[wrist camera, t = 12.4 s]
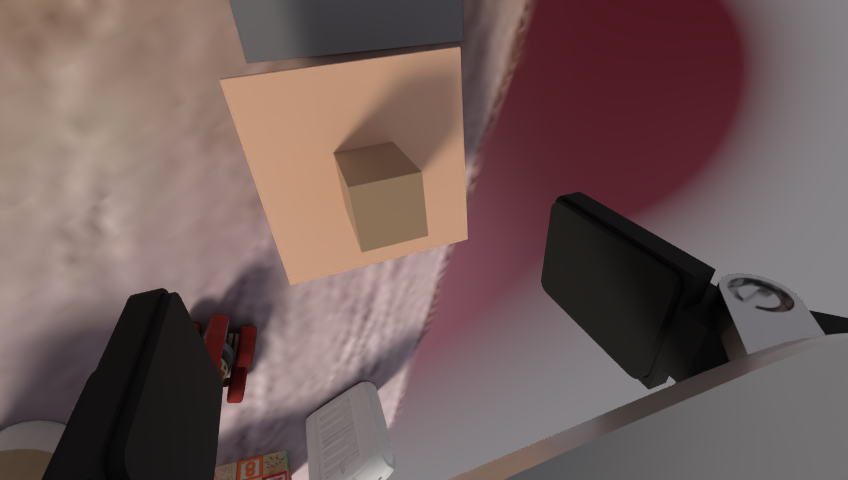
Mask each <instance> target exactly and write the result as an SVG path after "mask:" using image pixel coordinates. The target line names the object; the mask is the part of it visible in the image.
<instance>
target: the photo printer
mask: <svg viewBox="0 0 848 480" xmlns="http://www.w3.org/2000/svg"><path fill="white" fill-rule="evenodd" d="M306 437H307V453H308V470H309V480H386V479H387V478H388V476H390V474H391V473H392V472H393V470H394V469H395V465H396V462H395V457H394V453H393V449H392V446H391V441H390V437H389V433H388V429H387V425H386V421H385V418H384V414H383V410H382V406H381V402H380V399H379V396H378V393H377V389H376V386H375V385H374V384H373V383H371V382H361V383H359V384H357V385H355V386H354V387H352V388H350V389H349V390H347V391H346V392H344V393H343V394H341V395H339V396H338V397H336V398H335V399H333V400H332V401H330V402H329V403H327V404H326V405H324V406H323V407H321V408H320V409H318V410H317V411H315V412H314V413H312V414H311V415H310V416H309V417H308V418H307V419H306Z"/></svg>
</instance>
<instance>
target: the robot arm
mask: <svg viewBox="0 0 848 480" xmlns="http://www.w3.org/2000/svg"><path fill="white" fill-rule="evenodd" d="M714 272H715V269H713V268H712V267H710V266H708V265H707V264H705V263H703V262H702V261H700V260H698V259H696V258H695V257H693V256H691V255H689V254H688V253H686V252H684V251H682V250H681V249H679V248H677V247H676V246H674V245H672V244H670V243H669V242H667V241H665V240H663V239H661V238H660V237H658V236H656V235H655V234H653V233H651V232H649V231H648V230H646V229H644V228H642V227H641V226H639V225H637V224H635V223H634V222H632V221H630V220H628V219H627V218H625V217H623V216H622V215H620V214H618V213H616V212H615V211H613V210H611V209H609V208H607V207H606V206H604V205H602V204H601V203H599V202H597V201H595V200H593V199H592V198H590V197H588V196H587V195H585V194H583V193H581V192H576V193H571V194H567V195H563V196H560V197H558V198H557V200H556V202H555V203H554V204H553V205H552V207H551V213H550V221H549V228H548V235H547V242H546V249H545V257H544V264H543V271H542V278H541V283H542V286H543V289H544V290H545V292H546V293H547V294H548V295H549V296H550V297H551V298H552V299H554V301H555V302H556V303H557V304H558V305H559V306H560V307H561V308H562V309H563V310H565V312H566V313H567V314H568V315H569V316H570V317H571V318H572V319H573V320H574V321H575V322H576V323H577V324H578V325H579V326H580V327H581V328H582V329H583V330H585V332H586V333H587V334H588V335H589V336H590V337H591V338H592V339H593V340H594V341H595V342H596V343H597V344H598V345H599V346H600V347H601V348H602V349H604V351H606V353H607V354H608V355H609V356H610V357H611V358H612V359H613V360H614V361H615V362H616V363H618V365H619V366H621V368H623V369H624V370H625V371H626V372H627V374H629V375H630V376H631V377H633V378H635V379H638V380H639V381H641V383H642V384H643V385H645V386H646V387H647V388H648V389H651V388H654V387H656V386H659V385H661V384H663V383H666V381H667V379H668V377H669V376H670V377H672V378H673V379H674V380H675V382H676V383H675V384H674V385H672V386H669V387H667V388H665V389H662V390H660V391H658V392H655V393H652V394H650V395H648V396H645V397H643V398H641V399H638V400H636V401H633V402H631V403H629V404H626V405H624V406H622V407H619V408H617V409H614V410H612V411H609V412H607V413H605V414H602V415H600V416H598V417H595V418H593V419H591V420H588V421H586V422H583V423H581V424H579V425H576V426H574V427H571V428H569V429H567V430H564V431H562V432H560V433H557V434H555V435H553V436H550V437H548V438H545V439H543V440H541V441H539V442H536V443H534V444H531V445H529V446H527V447H524V448H522V449H520V450H517V451H515V452H513V453H510V454H508V455H505V456H503V457H501V458H498V459H496V460H494V461H492V462H489V463H487V464H484V465H482V466H480V467H477V468H475V469H473V470H470V471H468V472H465V473H463V474H461V475H459V476H456V477H454V478H451V479H450V480H848V318H845V317H840V316H835V315H830V314H824V313H820V312H814V311H809V310H808V308H807V307H806V305H805V304H804V302H803V301H802V300H801V299H800V298H799V297H798V296H797V294H796V293H794V292H793V291H791V290H790V289H788V288H787V287H785V286H783V285H781V284H779V283H777V282H775V281H773V280H770V279H767V278H764V277H761V276H756V275H751V274H741V273H736V274H728V275H726V276H724V277H722V278H721V280H720V281H719V283H718V285H717V287H716V286H715V285H713V284H711V283H710V281H711V279H712V277H713V274H714ZM222 394H223V384H222V379H221V376H220V373H219V372H218V370H217V368H216V366H215V364H214V362H213V360H212V358H211V356H210V354H209V352H208V350H207V348H206V346H205V344H204V342H203V340H202V338H201V336H200V334H199V332H198V331H197V329H196V327H195V325H194V323H193V321H192V319H191V317H190V315H189V313H188V311H187V309H186V307H185V305H184V303H183V301H182V299H181V297H180V296H179V294H178V293H176V292H173V293H168V291H167V290H166V289H164V288H160V289H156V290H152V291H147V292H143V293H139V294H134V295H131V296H130V297H129V299H128V300H127V303H126V305H125V307H124V309H123V312H122V314H121V316H120V318H119V320H118V323H117V325H116V327H115V329H114V331H113V334H112V336H111V338H110V340H109V342H108V345H107V347H106V349H105V351H104V353H103V356H102V358H101V360H100V362H99V364H98V367H97V369H96V371H95V372H93V373H92V374H91V376H90V377H89V379H88V380H87V382H86V384H85V387H84V389H83V391H82V393H81V395H80V397H79V400H78V402H77V404H76V406H75V408H74V410H73V412H72V415H71V417H70V419H69V421H68V423H67V425H66V428H65V430H64V432H63V434H62V436H61V438H60V440H59V443H58V445H57V447H56V449H55V451H54V453H53V456H52V458H51V460H50V462H49V464H48V466H47V468H46V471H45V473H44V475H43V477H42V479H41V480H214V476H215V465H216V455H217V445H218V435H219V425H220V414H221V404H222Z"/></svg>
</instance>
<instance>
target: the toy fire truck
mask: <svg viewBox="0 0 848 480" xmlns="http://www.w3.org/2000/svg"><path fill="white" fill-rule="evenodd" d="M228 323H229V316H227V315H220V314H213V315H212V316H211V320H210V324H209V327H208V331H207V334H206V339H202V340H203V342H204V344H205V346H206V348H207V350H208V352H209V354H210V356H211V358H212V360H213V362H214V364H215V366H216V368H217V370H218V372H219V373H220V376H221V379H222V384H223V387H227V386H229V387H228V394H227V402H228V403H240V402H242V400H243V396H244V391H245V385H246V377H247V367H250V366H251V364H252V360H253V355H254V350H255V343H256V335H257V328H256V327H251V326H243V327H242V328H241V330H240V334H236V333H230V334H229V335H227V329H228ZM194 325H195V327H196V329H197V331H198V332H199V330H200V326H199V324H196V323H194ZM233 359H235V363H234V364H233V365H232V368H231V374H230V378H226V376H227V369H228V368H229V367H230V366H231V364H232V361H233Z"/></svg>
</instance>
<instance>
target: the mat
mask: <svg viewBox="0 0 848 480" xmlns="http://www.w3.org/2000/svg"><path fill="white" fill-rule="evenodd" d="M229 1H230V5H231V8H232V12H233V16H234V19H235V23H236V26H237V30H238V33H239V37H240V40H241V44H242V48H243V51H244V55H245V58H246V62H247V63H254V62H264V61H273V60H283V59H292V58H302V57H312V56H321V55H331V54H340V53H350V52H360V51H369V50H379V49H388V48H398V47H408V46H417V45H427V44H436V43H446V42H456V41H463V0H229Z"/></svg>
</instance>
